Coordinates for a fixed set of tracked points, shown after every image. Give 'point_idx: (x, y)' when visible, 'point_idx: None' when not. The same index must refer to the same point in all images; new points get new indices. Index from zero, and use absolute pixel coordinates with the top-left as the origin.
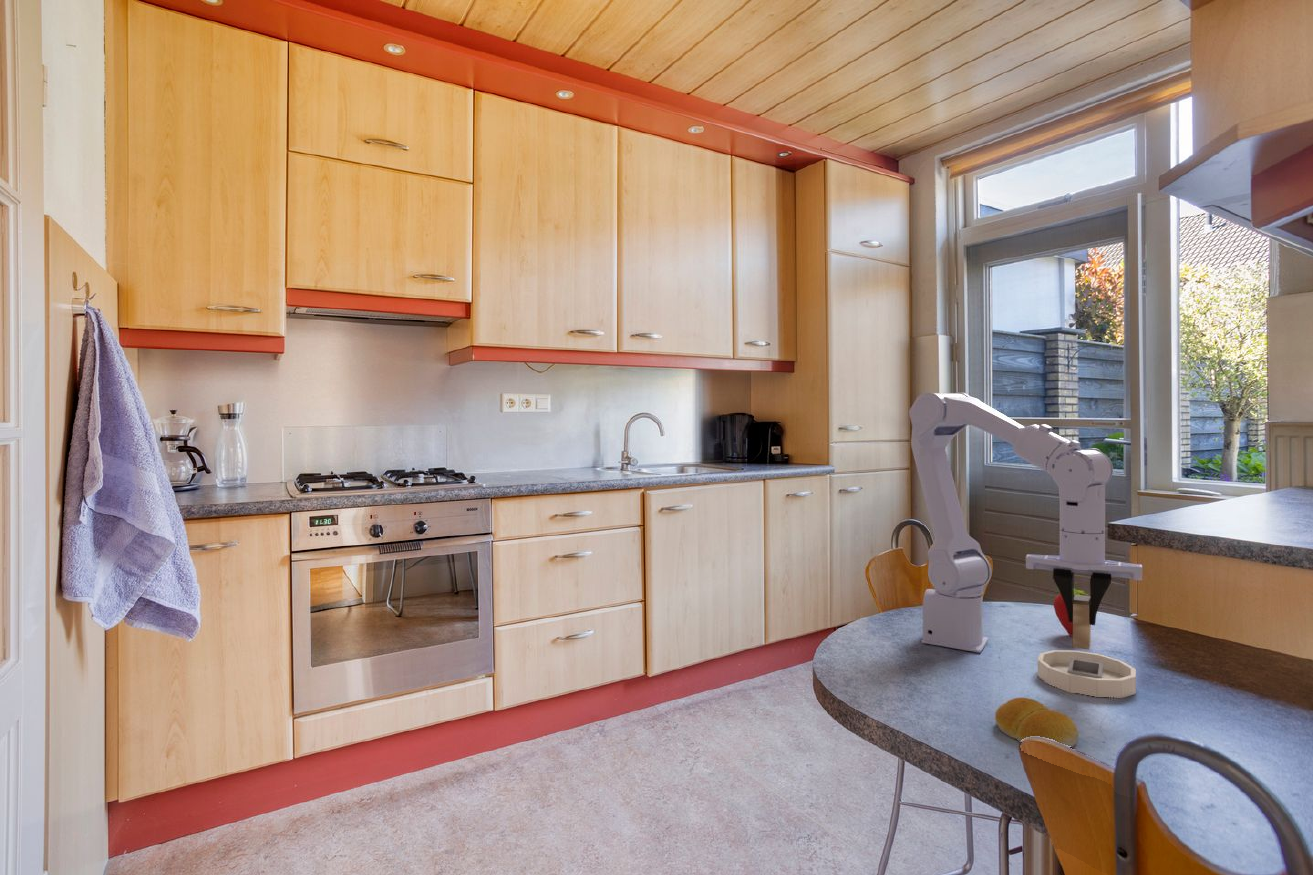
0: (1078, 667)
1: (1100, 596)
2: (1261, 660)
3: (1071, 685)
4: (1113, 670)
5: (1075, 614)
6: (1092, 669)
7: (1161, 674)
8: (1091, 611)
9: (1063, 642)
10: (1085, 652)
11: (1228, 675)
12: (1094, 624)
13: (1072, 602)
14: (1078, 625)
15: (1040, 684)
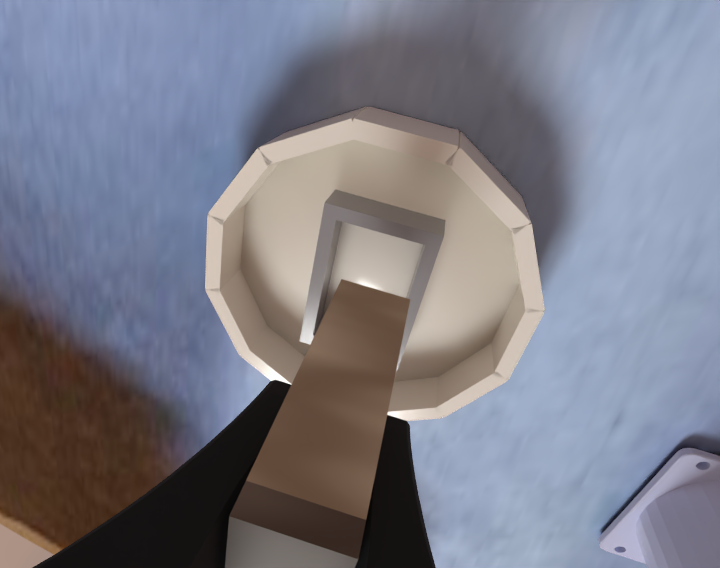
0: None
1: (95, 543)
2: (4, 468)
3: (453, 135)
4: (277, 338)
5: (366, 435)
6: None
7: (168, 365)
8: (251, 442)
9: None
10: None
11: (42, 384)
12: (270, 383)
13: (364, 544)
14: (363, 373)
15: (554, 189)
